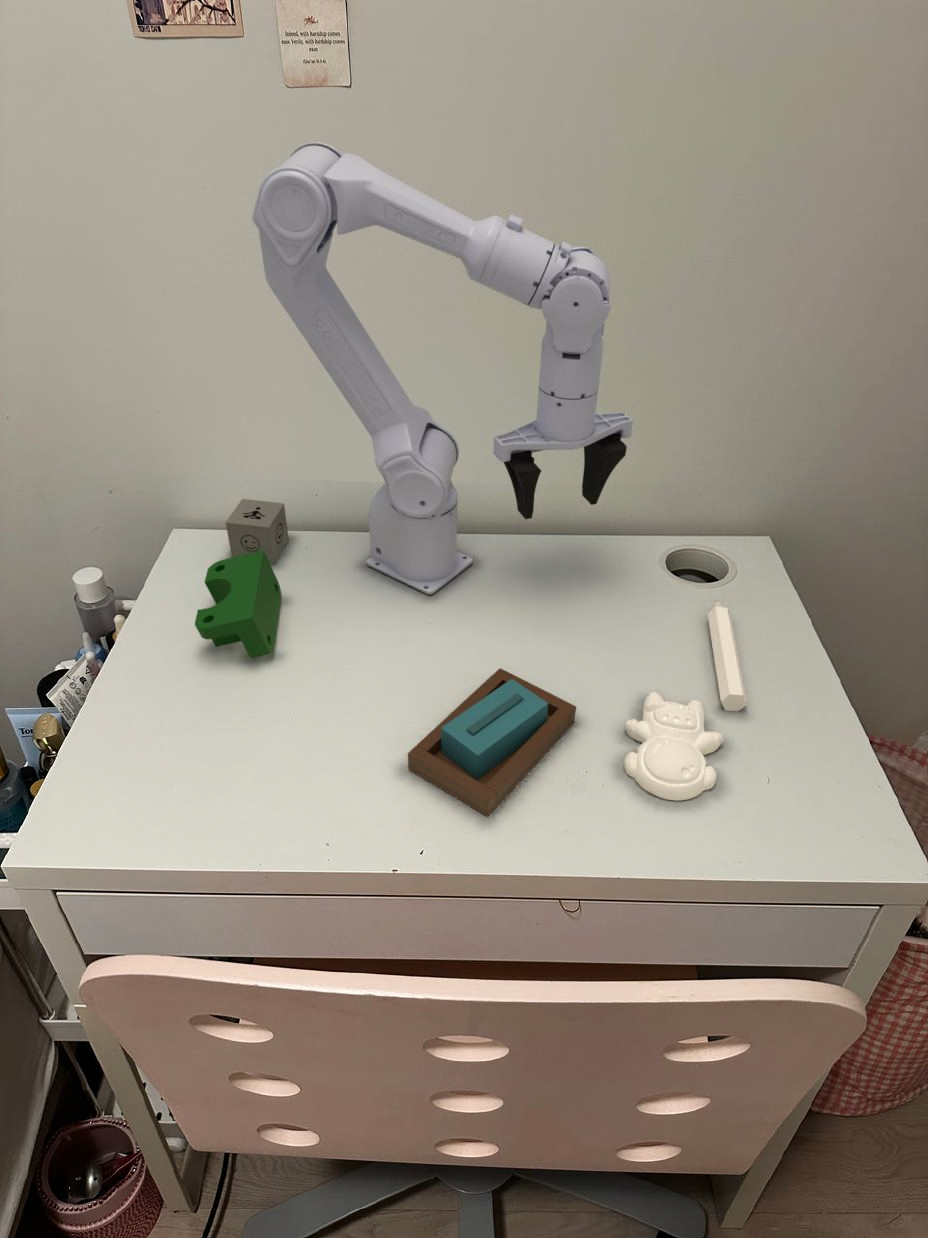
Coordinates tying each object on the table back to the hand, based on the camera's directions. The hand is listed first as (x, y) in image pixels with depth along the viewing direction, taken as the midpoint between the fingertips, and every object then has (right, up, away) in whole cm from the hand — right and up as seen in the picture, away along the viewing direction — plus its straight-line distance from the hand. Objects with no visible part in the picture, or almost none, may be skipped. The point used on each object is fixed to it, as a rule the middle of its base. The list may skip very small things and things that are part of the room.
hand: (557, 506), depth 98 cm
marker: (+16, -16, -4) cm, 23 cm away
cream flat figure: (+9, -24, -14) cm, 29 cm away
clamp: (-33, -13, -1) cm, 35 cm away
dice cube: (-33, -4, +9) cm, 35 cm away
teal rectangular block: (-7, -23, -14) cm, 28 cm away
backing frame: (-7, -23, -14) cm, 28 cm away
